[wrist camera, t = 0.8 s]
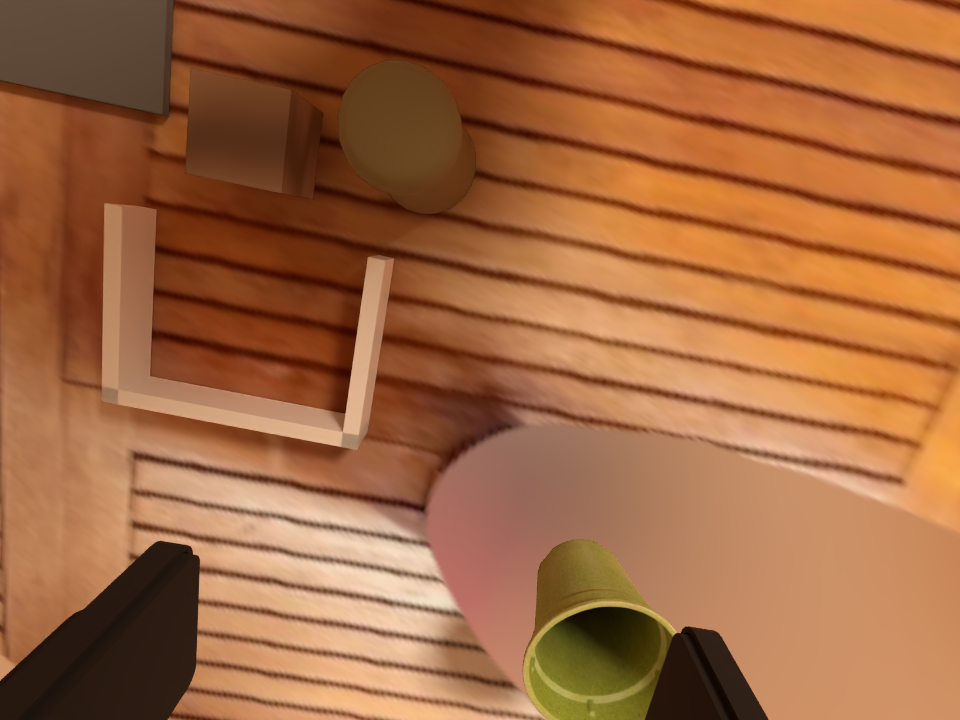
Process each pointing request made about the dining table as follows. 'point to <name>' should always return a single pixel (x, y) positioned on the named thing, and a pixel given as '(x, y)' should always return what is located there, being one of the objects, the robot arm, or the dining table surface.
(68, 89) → the mat
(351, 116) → the cork
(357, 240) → the dining table surface
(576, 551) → the plant pot
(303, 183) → the walnut block
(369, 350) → the tray
